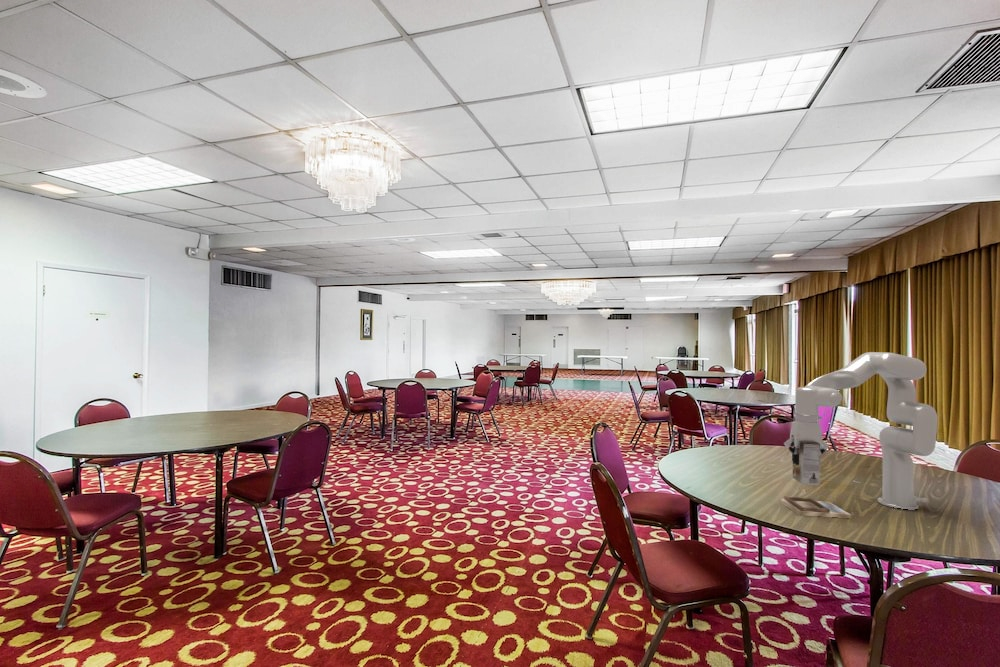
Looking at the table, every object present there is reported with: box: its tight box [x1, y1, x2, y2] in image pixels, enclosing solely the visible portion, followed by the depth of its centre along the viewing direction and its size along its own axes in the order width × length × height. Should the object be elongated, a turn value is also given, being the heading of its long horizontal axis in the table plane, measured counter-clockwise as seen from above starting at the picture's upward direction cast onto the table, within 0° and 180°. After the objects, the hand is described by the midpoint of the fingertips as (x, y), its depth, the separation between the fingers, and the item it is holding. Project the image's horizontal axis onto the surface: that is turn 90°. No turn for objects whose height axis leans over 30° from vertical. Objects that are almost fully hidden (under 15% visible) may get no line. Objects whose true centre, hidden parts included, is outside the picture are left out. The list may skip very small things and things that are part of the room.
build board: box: [780, 496, 852, 519], centre depth 177 cm, size 18×14×3 cm
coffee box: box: [792, 441, 821, 486], centre depth 178 cm, size 9×6×16 cm
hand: (805, 464), depth 178 cm, fingers closed on coffee box, 6 cm apart
